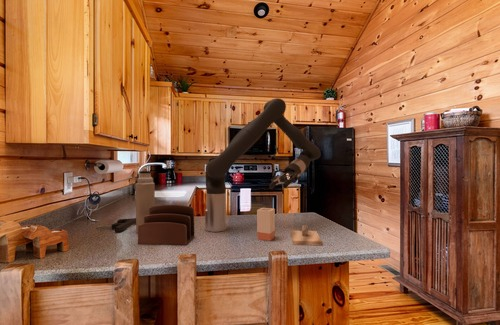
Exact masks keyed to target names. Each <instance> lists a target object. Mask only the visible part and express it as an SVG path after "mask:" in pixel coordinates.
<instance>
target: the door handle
mask: <svg viewBox="0 0 500 325" xmlns="http://www.w3.org/2000/svg"><path fill="white" fill-rule="evenodd" d="M134 226H136V217H134V218H133V217H132V218H119V219H118V220H117V222H115V223H113V224H110V225H109V224H107V225H97V226H95V230H96V229H105V230H106V229H108V231H109V230H111V231H114V232H115V233H121V232H123V231H125V230H129V229H131V228H132V227H134ZM106 231H107V230H106Z"/></svg>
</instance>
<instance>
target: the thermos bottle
mask: <svg viewBox="0 0 500 325" xmlns="http://www.w3.org/2000/svg"><path fill="white" fill-rule="evenodd" d="M155 184H156V183H155V182H154V178H153V177H152V172H151V170H141V171H139V177H138V178H137V182H136V183H135V218H136V224H135V227H136V228H135V229H136V230H135V233H136V234H138V226H139V225H140V224H143V223H144V217H145V216H146V215H149V208H150V207H151V206H156V205H155V204H156V203H155V199H156V198H155V197H156V193H155V192H156V190H155V188H156V187H155Z"/></svg>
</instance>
